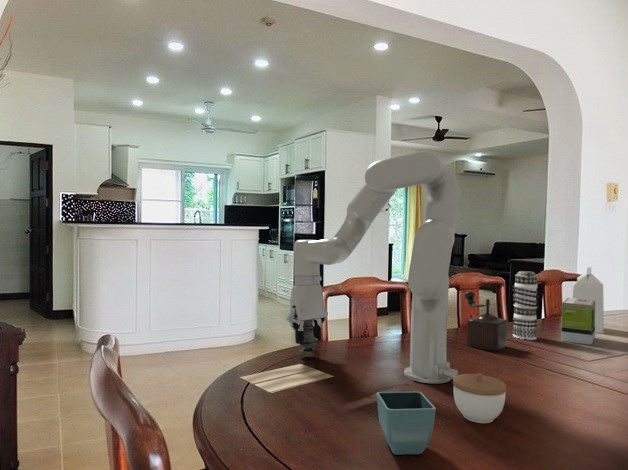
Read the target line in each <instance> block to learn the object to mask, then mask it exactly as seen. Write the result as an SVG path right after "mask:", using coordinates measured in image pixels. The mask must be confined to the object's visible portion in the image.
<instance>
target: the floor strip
mask: <svg viewBox="0 0 628 470" xmlns="http://www.w3.org/2000/svg"><path fill="white" fill-rule="evenodd" d="M312 370H316V368H314V367H310V366H308V365H305V364H302V363H298V364H293V365H290V366H289V365H287V366H285V367H281V368H275V369H272V370H271V369H270V370H267V371H261V372H258V373H253V374H250V375H249V374H248V375H244V376H240V377H239V378H240V379H242V380H244V381H245V382H248V383H249V384H252V385H255V384H259V383H263V382H267V381H271V380H275V379H279V378H284V377H288V376H292V375H296V374H300V373H304V372H308V371H312Z"/></svg>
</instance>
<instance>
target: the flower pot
mask: <svg viewBox="0 0 628 470" xmlns="http://www.w3.org/2000/svg"><path fill="white" fill-rule="evenodd" d="M376 400H377V401H376V404H377V413H378V414H377V415H378V421H379V425H380V428H381V432H382V434H383V437H384V438H385V441H386V443H387V444H388V446H389V448H390V449H391V450H390V451H391V452H392V453H393V455H401V456H402V455H421V454H423V452H425V450H426V449H427V447H428V445H429V444H430V442H431V439H432V435H433V430H434V424H435V417H436V411H437V409H436V407H435V406H434V404H433V403H432V402H431V401H430V400H429V399H428V398H427V396H425V395H424V393H422V392H421V391H377V392H376Z"/></svg>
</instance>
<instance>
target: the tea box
mask: <svg viewBox="0 0 628 470" xmlns="http://www.w3.org/2000/svg"><path fill="white" fill-rule="evenodd" d="M560 332H561V333H560V335H561V338H560V340H561V342H565V343H566V342H568V343H575V344H580V345H581V344H582V345H588V346H589V345H590V346H591V345H592V344H593V342H594V340H595V338H596V333H595V300H589V299H578V298H573V297H566V299H565V300H564V301H562V302H561V331H560Z"/></svg>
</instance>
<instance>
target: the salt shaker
mask: <svg viewBox="0 0 628 470" xmlns="http://www.w3.org/2000/svg"><path fill="white" fill-rule="evenodd" d="M313 328H314V324H313V319H312V320H306V321H304V324H303V328H302V331H304V344H303V345H301V344H299V345H300V346H301V349H300V350H299V353H300V354H303V355H305V354H306V355H310V354H311V355H313V354H316V353H318V350H317V349H316V348H315V347H316V346H317V343H318V342H319V341H318V339H317V338H315V337H314V335H313Z"/></svg>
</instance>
